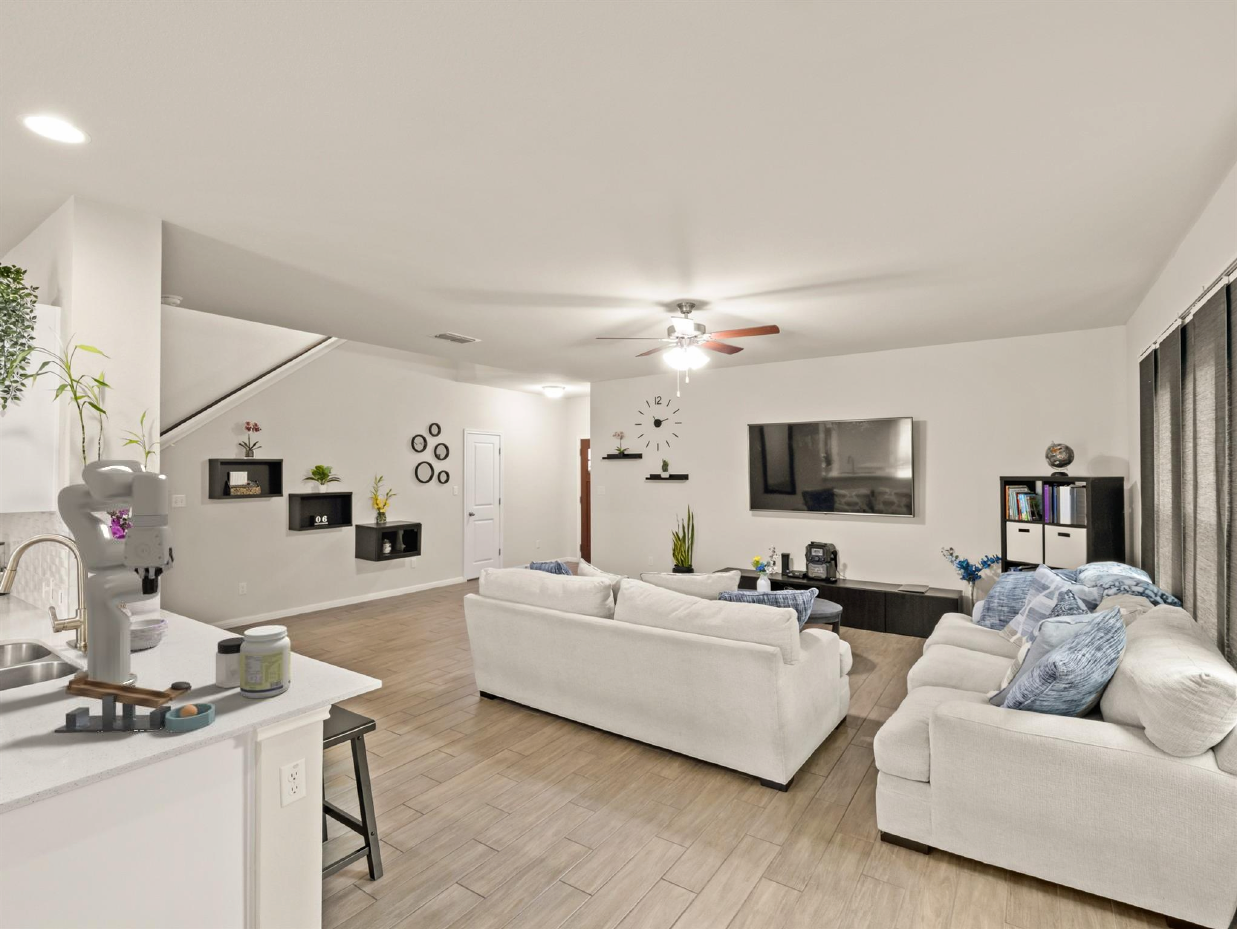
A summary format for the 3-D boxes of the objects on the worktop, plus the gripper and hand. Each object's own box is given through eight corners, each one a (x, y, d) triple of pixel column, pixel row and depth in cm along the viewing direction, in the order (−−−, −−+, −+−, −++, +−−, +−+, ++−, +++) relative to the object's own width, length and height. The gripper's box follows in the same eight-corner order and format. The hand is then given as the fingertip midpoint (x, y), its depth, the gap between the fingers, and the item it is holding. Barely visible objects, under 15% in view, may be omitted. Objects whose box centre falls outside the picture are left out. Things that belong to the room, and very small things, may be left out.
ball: (181, 705, 153) (194, 713, 153) (190, 700, 156) (203, 707, 157) (173, 718, 153) (186, 725, 153) (182, 712, 156) (195, 719, 156)
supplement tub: (257, 683, 182) (257, 623, 182) (299, 684, 182) (299, 624, 182) (229, 699, 170) (229, 635, 170) (274, 700, 170) (275, 636, 170)
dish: (156, 732, 150) (156, 719, 150) (182, 715, 159) (182, 703, 159) (199, 731, 150) (199, 718, 150) (223, 714, 160) (223, 702, 160)
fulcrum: (54, 732, 149) (54, 698, 149) (82, 718, 157) (82, 685, 157) (157, 731, 150) (157, 696, 150) (180, 716, 159) (180, 683, 159)
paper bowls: (119, 643, 220) (119, 620, 220) (172, 638, 227) (172, 616, 227) (105, 656, 206) (105, 631, 206) (162, 650, 213) (162, 626, 213)
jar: (216, 690, 176) (216, 647, 176) (215, 681, 183) (215, 639, 183) (253, 684, 181) (253, 642, 181) (251, 676, 188) (251, 635, 188)
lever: (65, 693, 151) (67, 680, 151) (106, 674, 164) (108, 662, 164) (158, 709, 152) (161, 695, 152) (192, 689, 165) (194, 677, 165)
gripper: (108, 523, 160) (108, 596, 160) (171, 523, 161) (171, 596, 161) (129, 520, 168) (129, 590, 168) (189, 520, 168) (189, 590, 169)
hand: (150, 593), depth 164 cm, fingers closed
